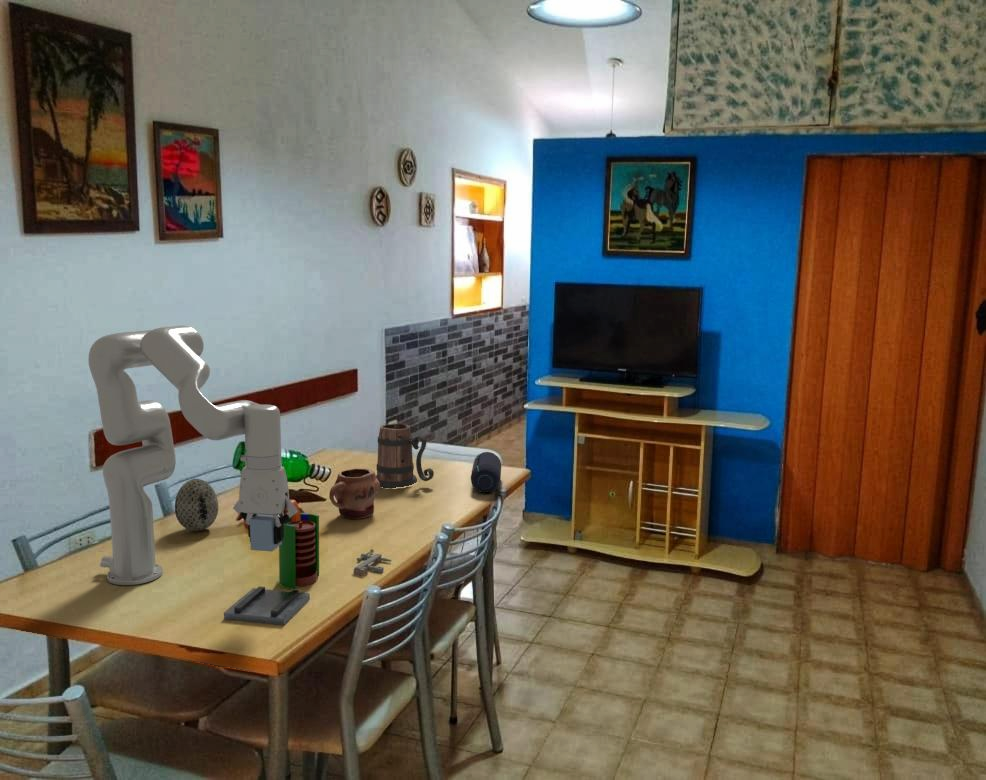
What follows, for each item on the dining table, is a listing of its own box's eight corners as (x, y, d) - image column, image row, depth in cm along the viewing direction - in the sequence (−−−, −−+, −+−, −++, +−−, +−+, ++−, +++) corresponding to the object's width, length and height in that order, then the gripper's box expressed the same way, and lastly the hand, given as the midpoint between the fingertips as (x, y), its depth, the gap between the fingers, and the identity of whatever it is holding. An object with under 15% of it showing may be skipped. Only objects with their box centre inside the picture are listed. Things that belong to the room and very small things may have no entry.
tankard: (361, 484, 293) (360, 427, 290) (388, 473, 308) (388, 419, 305) (419, 494, 283) (419, 435, 280) (444, 482, 298) (445, 426, 295)
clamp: (373, 571, 210) (339, 565, 214) (374, 579, 211) (339, 573, 214) (403, 551, 224) (370, 546, 228) (403, 559, 224) (370, 554, 228)
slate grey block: (250, 549, 187) (249, 519, 186) (264, 540, 194) (263, 510, 193) (272, 551, 186) (271, 520, 185) (284, 541, 193) (283, 511, 192)
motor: (307, 590, 202) (305, 509, 199) (272, 587, 204) (269, 506, 201) (323, 574, 212) (322, 497, 209) (290, 571, 214) (288, 494, 211)
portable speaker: (473, 476, 307) (473, 449, 305) (501, 476, 307) (501, 449, 305) (469, 495, 282) (470, 466, 281) (500, 496, 282) (500, 467, 280)
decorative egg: (184, 539, 236) (182, 487, 233) (169, 528, 245) (167, 478, 242) (225, 531, 243) (223, 480, 241) (209, 521, 252) (207, 472, 250)
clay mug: (349, 529, 247) (349, 482, 245) (316, 522, 252) (315, 476, 250) (389, 511, 264) (389, 467, 262) (357, 505, 270) (357, 462, 268)
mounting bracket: (224, 619, 186) (223, 608, 186) (253, 594, 200) (252, 584, 199) (284, 625, 184) (283, 614, 183) (309, 599, 197) (309, 589, 197)
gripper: (219, 463, 184) (222, 544, 187) (293, 468, 181) (295, 550, 184) (235, 455, 191) (238, 533, 194) (307, 459, 188) (309, 538, 191)
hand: (266, 540), depth 189 cm, fingers closed on slate grey block, 5 cm apart
